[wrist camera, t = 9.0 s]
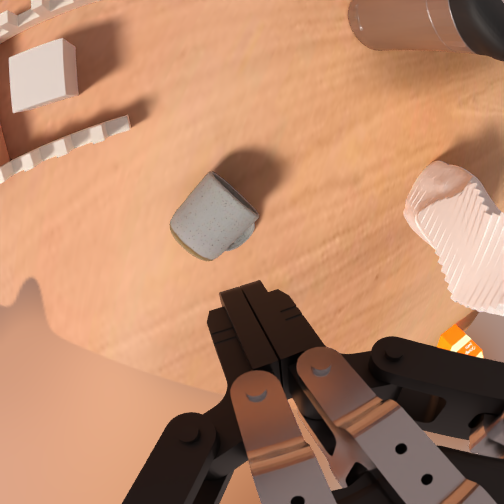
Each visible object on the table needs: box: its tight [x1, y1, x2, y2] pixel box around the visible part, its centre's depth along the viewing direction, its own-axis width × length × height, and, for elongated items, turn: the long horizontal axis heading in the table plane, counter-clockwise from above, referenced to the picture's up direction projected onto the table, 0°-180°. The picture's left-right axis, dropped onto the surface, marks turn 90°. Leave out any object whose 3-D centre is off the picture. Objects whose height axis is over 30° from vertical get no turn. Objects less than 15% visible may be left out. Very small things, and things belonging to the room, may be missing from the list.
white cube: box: [9, 38, 79, 113], centre depth 21 cm, size 6×6×6 cm
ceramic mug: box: [170, 171, 259, 261], centre depth 35 cm, size 11×8×8 cm
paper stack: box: [403, 161, 504, 316], centre depth 42 cm, size 21×27×26 cm
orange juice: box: [437, 324, 483, 358], centre depth 77 cm, size 8×9×20 cm
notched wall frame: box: [0, 0, 131, 184], centre depth 21 cm, size 18×18×5 cm
